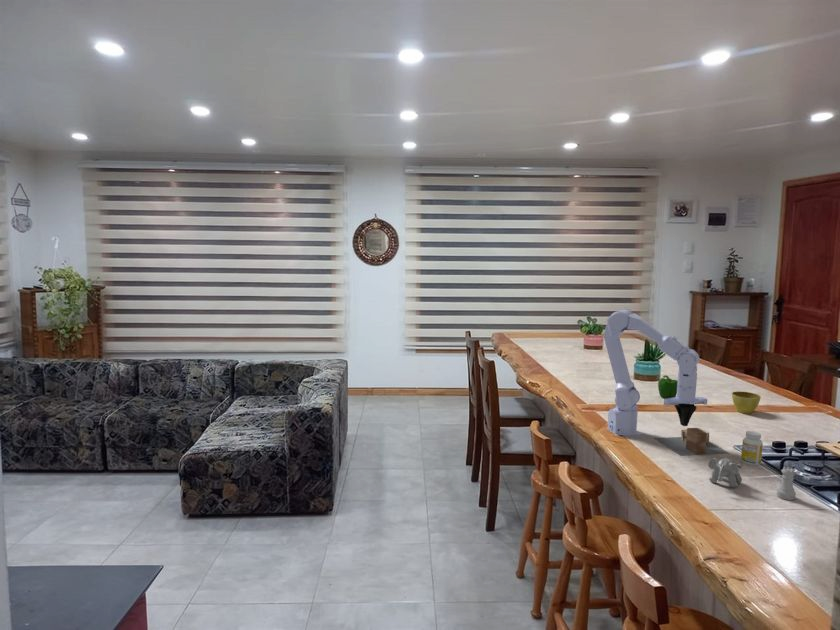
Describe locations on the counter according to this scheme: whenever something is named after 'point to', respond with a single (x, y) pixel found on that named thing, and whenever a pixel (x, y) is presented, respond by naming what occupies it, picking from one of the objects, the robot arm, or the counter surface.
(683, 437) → the beech block
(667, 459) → the counter surface
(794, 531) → the counter surface
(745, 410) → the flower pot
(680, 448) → the mat
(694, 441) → the walnut block
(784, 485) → the rook chess piece
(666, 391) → the bell pepper
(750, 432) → the supplement bottle
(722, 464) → the elephant statuette
